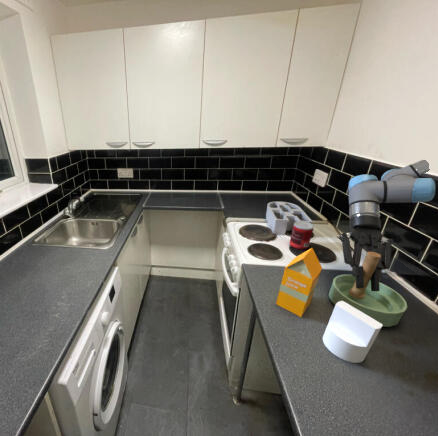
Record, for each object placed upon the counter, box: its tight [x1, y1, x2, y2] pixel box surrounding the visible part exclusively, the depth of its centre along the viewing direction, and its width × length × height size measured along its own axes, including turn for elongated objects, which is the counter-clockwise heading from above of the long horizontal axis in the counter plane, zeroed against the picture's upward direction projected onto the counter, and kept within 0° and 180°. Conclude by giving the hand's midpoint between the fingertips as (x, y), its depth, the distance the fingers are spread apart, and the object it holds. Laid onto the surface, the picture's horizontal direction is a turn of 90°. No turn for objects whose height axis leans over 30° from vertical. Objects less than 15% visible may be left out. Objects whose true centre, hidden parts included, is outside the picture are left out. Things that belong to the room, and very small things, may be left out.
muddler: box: [349, 251, 381, 300], centre depth 72 cm, size 4×4×16 cm
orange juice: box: [275, 247, 323, 318], centre depth 72 cm, size 8×9×20 cm
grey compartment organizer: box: [265, 201, 314, 236], centre depth 128 cm, size 17×28×9 cm, turn 165°
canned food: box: [289, 221, 315, 250], centre depth 107 cm, size 8×8×11 cm
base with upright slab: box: [322, 301, 384, 364], centre depth 60 cm, size 9×9×12 cm
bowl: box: [328, 274, 408, 328], centre depth 73 cm, size 17×17×6 cm
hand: (367, 289), depth 70 cm, fingers closed on muddler, 3 cm apart
